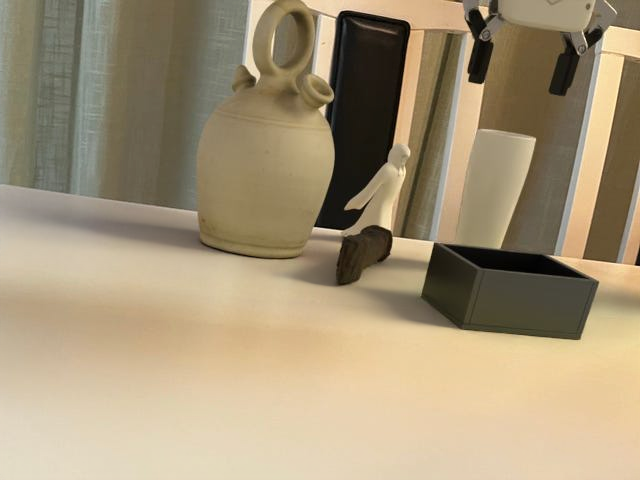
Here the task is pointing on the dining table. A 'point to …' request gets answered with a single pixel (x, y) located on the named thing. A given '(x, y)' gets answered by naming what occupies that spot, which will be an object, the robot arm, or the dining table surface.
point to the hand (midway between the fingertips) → (516, 89)
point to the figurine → (380, 192)
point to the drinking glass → (492, 186)
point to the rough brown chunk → (362, 252)
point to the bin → (508, 291)
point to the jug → (267, 150)
